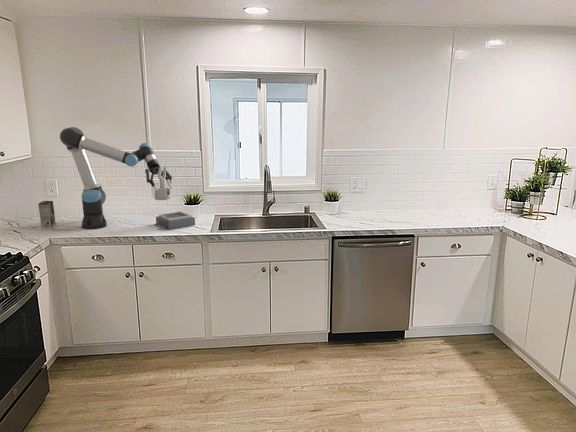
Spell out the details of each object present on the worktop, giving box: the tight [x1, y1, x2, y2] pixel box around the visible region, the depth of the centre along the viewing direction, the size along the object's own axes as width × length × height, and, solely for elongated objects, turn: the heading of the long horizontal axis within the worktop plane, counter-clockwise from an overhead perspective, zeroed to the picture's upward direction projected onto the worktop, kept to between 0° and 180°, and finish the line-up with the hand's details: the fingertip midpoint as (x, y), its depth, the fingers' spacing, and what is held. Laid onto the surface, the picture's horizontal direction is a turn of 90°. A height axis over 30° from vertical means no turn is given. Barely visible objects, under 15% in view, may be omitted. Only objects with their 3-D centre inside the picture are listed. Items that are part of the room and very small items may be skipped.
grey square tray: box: [155, 211, 196, 230], centre depth 290 cm, size 19×19×6 cm
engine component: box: [154, 167, 171, 201], centre depth 284 cm, size 11×20×10 cm
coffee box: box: [37, 200, 56, 229], centre depth 280 cm, size 9×6×16 cm
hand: (163, 189), depth 282 cm, fingers closed on engine component, 10 cm apart
